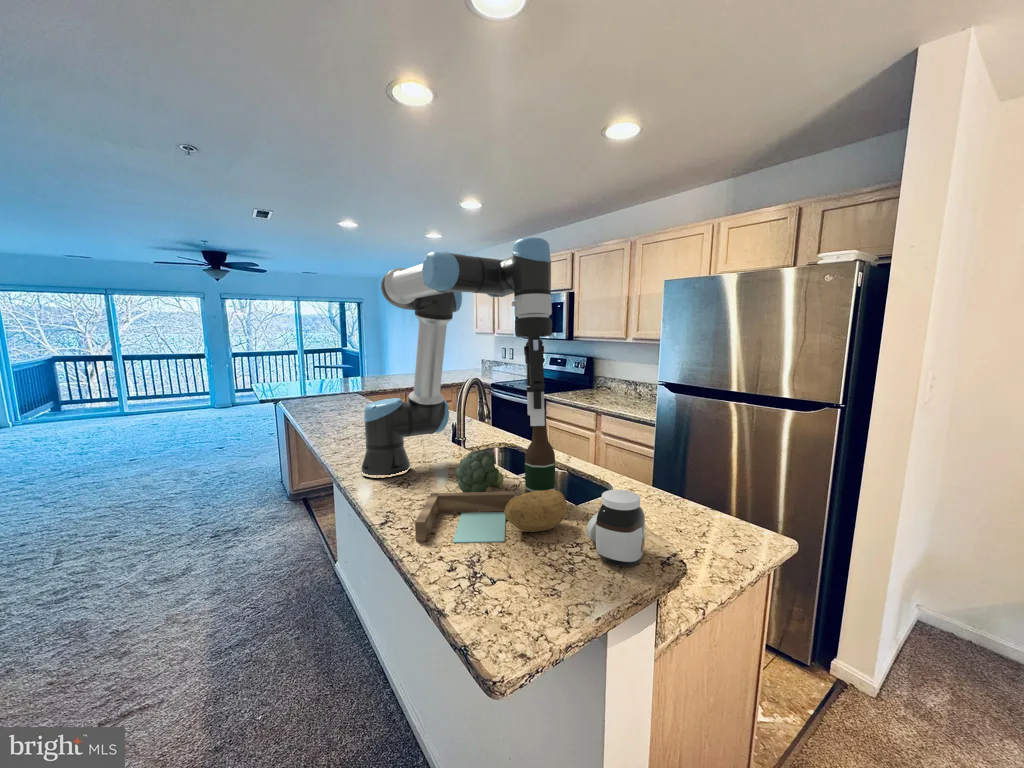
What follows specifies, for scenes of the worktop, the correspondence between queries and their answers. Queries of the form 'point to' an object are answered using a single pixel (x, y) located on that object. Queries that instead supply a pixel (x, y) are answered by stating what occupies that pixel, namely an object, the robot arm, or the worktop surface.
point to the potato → (536, 510)
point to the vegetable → (478, 472)
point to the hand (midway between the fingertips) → (535, 419)
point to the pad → (480, 527)
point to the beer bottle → (540, 462)
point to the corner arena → (458, 507)
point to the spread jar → (619, 528)
